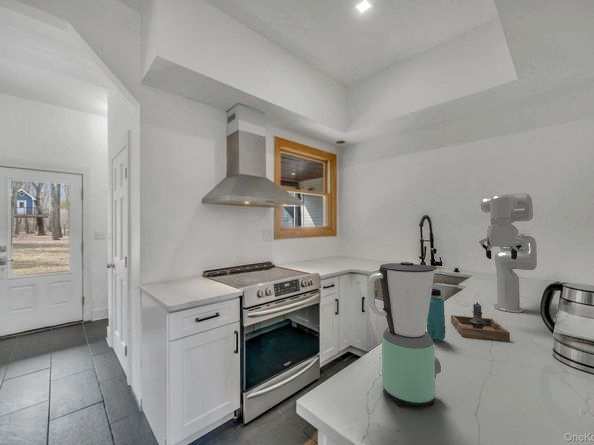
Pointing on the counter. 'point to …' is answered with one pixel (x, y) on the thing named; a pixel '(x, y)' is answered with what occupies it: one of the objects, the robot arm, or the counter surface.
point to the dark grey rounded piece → (477, 317)
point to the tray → (488, 332)
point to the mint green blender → (406, 332)
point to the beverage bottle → (436, 317)
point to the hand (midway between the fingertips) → (501, 258)
